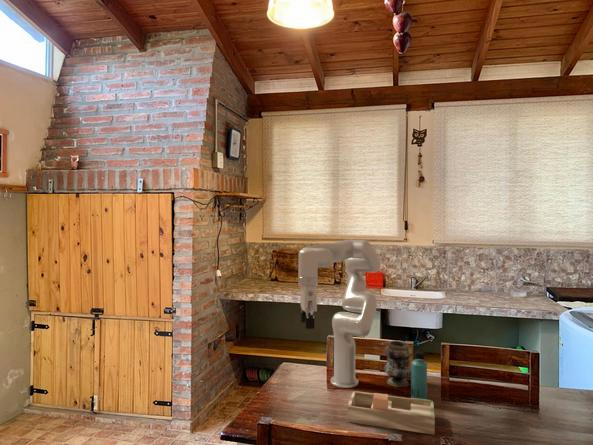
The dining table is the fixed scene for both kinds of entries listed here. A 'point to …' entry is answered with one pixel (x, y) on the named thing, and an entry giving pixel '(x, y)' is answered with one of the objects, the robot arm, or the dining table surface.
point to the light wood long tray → (393, 413)
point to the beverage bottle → (419, 376)
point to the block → (380, 401)
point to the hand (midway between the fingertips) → (307, 325)
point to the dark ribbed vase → (398, 363)
